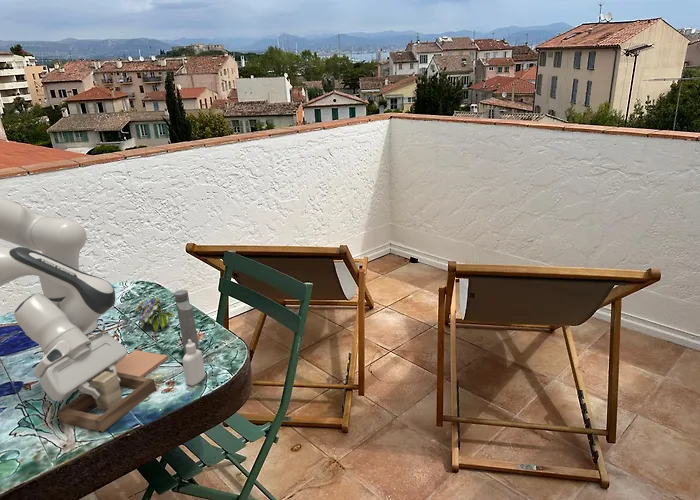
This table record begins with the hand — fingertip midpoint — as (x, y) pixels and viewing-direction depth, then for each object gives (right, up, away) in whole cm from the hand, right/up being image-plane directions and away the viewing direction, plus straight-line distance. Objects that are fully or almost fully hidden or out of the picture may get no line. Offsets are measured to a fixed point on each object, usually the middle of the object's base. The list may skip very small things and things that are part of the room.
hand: (108, 389), depth 111 cm
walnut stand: (0, -4, +2) cm, 4 cm away
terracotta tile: (-2, +1, +18) cm, 18 cm away
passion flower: (-6, +8, +43) cm, 44 cm away
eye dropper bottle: (+18, -1, +11) cm, 21 cm away
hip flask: (+12, +3, +24) cm, 27 cm away
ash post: (0, -4, +2) cm, 4 cm away
